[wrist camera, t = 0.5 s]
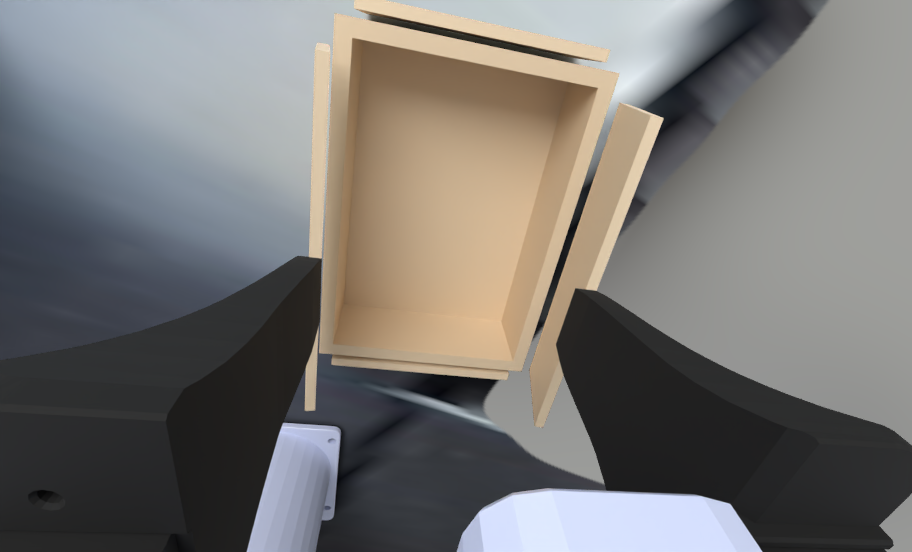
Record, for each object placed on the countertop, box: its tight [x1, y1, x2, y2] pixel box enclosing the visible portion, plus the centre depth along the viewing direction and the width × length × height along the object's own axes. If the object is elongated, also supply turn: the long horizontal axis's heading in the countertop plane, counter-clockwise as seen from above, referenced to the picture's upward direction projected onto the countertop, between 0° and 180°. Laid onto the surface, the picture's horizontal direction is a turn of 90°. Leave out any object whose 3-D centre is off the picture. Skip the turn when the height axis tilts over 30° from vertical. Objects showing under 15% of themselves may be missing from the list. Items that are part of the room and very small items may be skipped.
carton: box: [319, 0, 619, 380], centre depth 20 cm, size 15×10×4 cm, turn 170°
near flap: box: [305, 43, 330, 411], centre depth 15 cm, size 12×4×1 cm
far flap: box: [530, 103, 664, 428], centre depth 16 cm, size 12×4×1 cm
